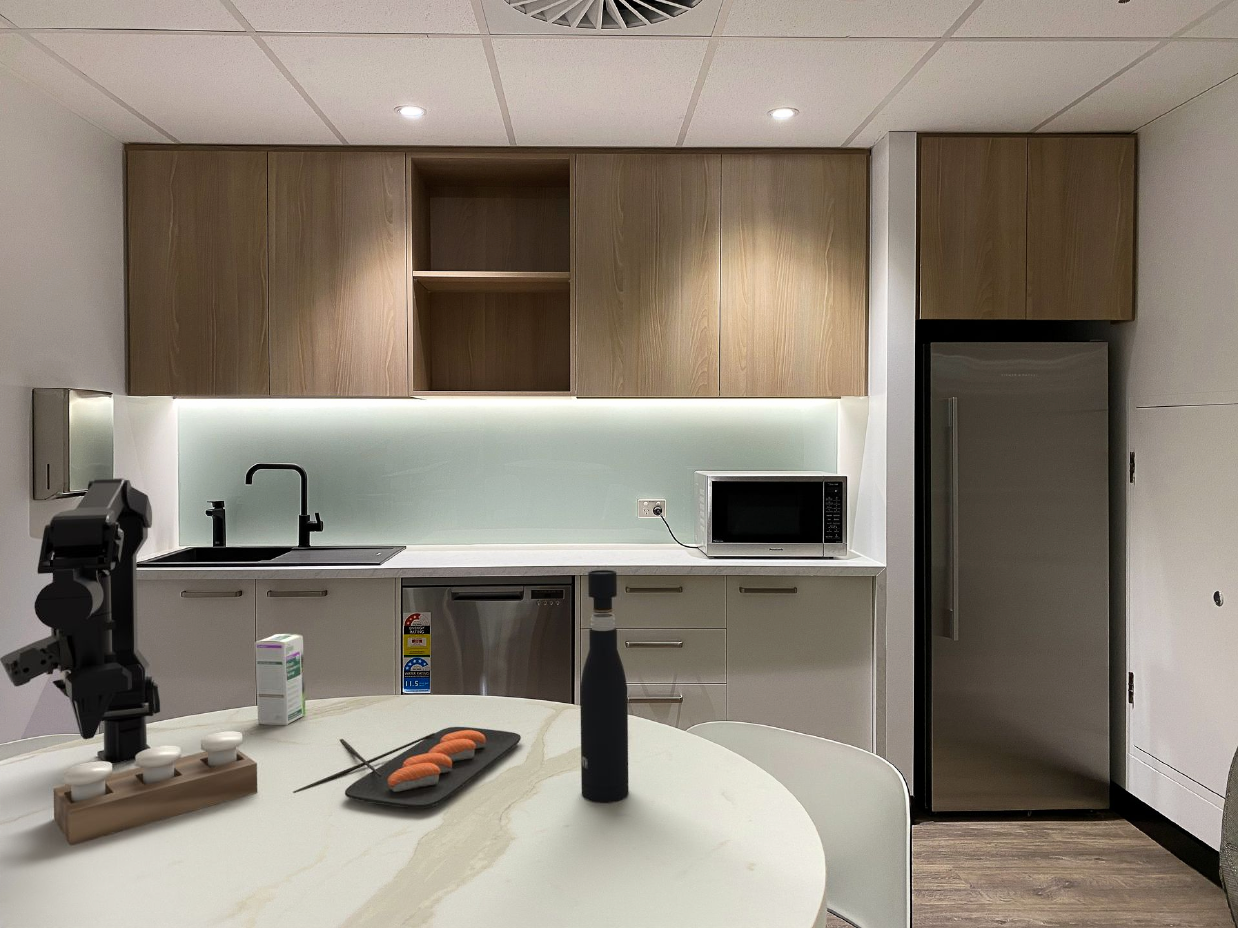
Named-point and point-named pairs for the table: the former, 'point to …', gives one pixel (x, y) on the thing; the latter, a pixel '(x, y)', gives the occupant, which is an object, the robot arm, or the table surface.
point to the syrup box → (280, 679)
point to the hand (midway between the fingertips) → (87, 737)
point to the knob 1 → (87, 780)
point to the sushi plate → (428, 767)
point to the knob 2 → (221, 747)
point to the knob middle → (158, 763)
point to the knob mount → (153, 796)
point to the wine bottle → (603, 701)
